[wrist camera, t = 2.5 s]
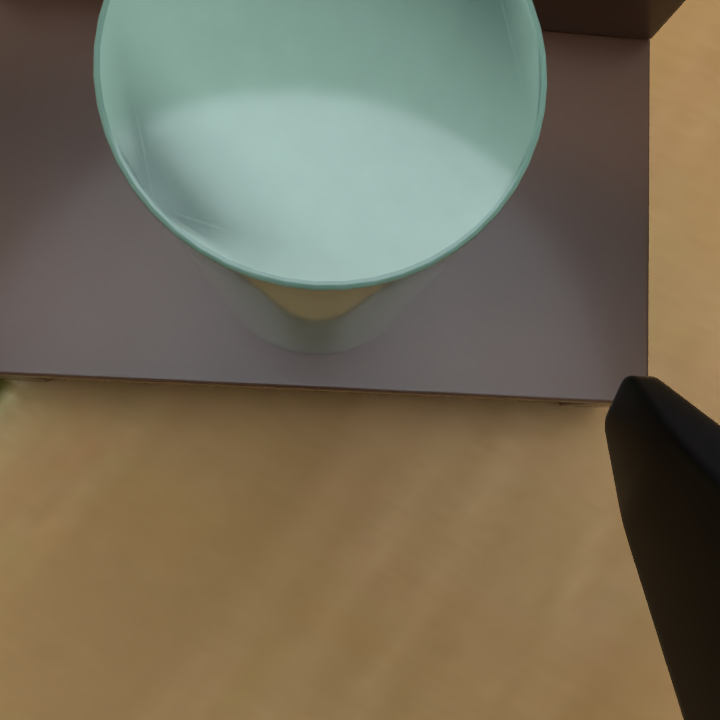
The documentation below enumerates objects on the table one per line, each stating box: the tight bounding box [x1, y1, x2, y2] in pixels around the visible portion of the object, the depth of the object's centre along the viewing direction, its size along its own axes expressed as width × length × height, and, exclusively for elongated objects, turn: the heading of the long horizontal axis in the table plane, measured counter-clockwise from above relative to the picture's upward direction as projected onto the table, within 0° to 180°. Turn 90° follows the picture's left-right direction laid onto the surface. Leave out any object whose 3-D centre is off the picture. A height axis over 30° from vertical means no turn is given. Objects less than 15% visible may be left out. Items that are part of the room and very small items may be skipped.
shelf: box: [0, 0, 685, 407], centre depth 18 cm, size 11×18×5 cm, turn 88°
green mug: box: [93, 0, 547, 354], centre depth 13 cm, size 8×6×9 cm
